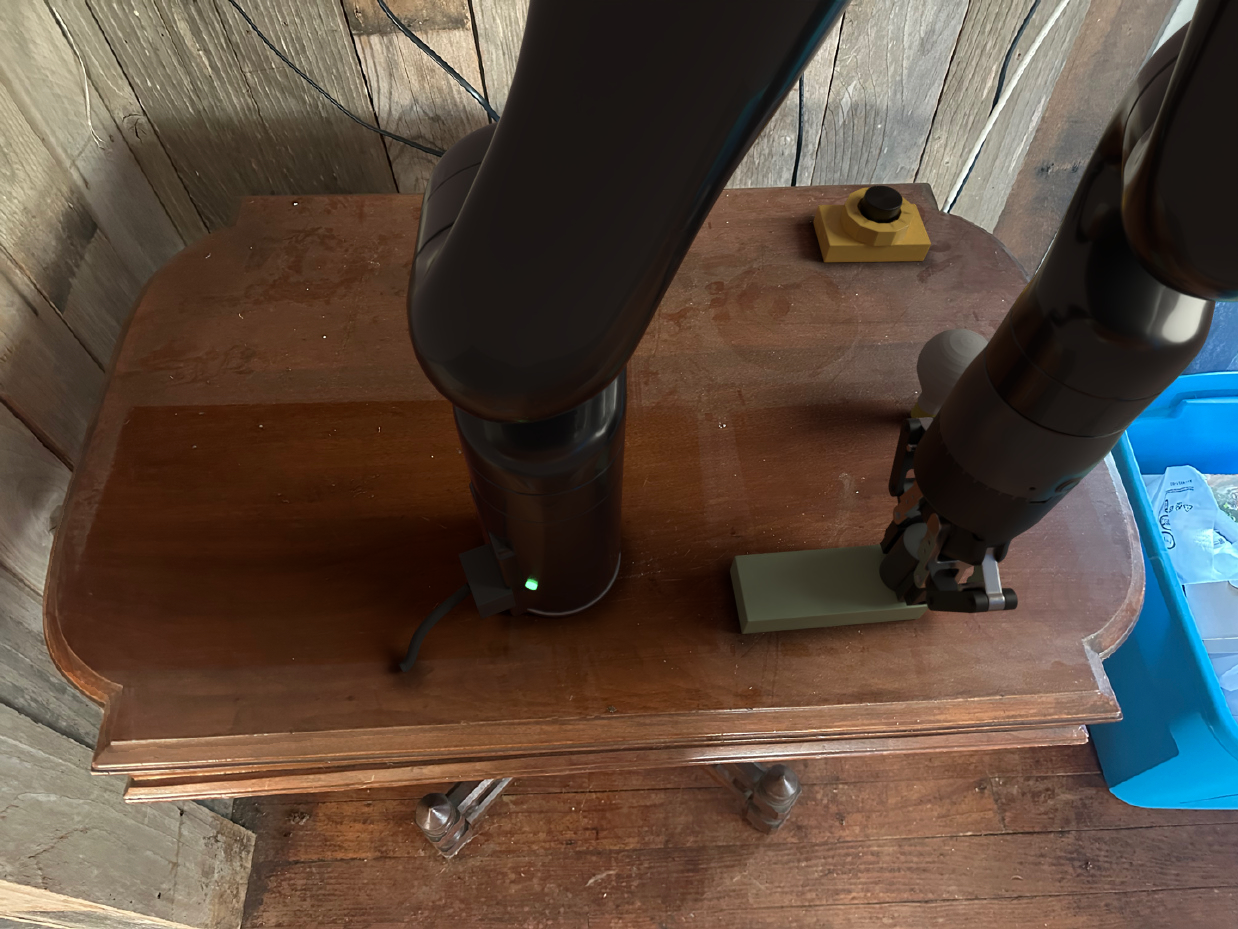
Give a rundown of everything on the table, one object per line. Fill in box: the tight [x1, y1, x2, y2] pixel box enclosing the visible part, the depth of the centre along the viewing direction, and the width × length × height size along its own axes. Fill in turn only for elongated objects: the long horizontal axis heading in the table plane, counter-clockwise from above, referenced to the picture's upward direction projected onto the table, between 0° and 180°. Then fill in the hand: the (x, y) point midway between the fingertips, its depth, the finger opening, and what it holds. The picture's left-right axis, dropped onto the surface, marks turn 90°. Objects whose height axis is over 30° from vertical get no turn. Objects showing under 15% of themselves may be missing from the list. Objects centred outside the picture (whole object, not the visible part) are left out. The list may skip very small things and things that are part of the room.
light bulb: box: [910, 328, 989, 418], centre depth 60 cm, size 5×6×10 cm
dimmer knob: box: [879, 523, 928, 591], centre depth 51 cm, size 3×3×5 cm
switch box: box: [812, 187, 932, 263], centre depth 74 cm, size 10×6×4 cm, turn 92°
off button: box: [860, 184, 903, 223], centre depth 72 cm, size 4×4×2 cm
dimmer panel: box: [729, 544, 929, 635], centre depth 54 cm, size 13×5×2 cm, turn 95°
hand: (902, 572), depth 53 cm, fingers closed on dimmer knob, 3 cm apart
